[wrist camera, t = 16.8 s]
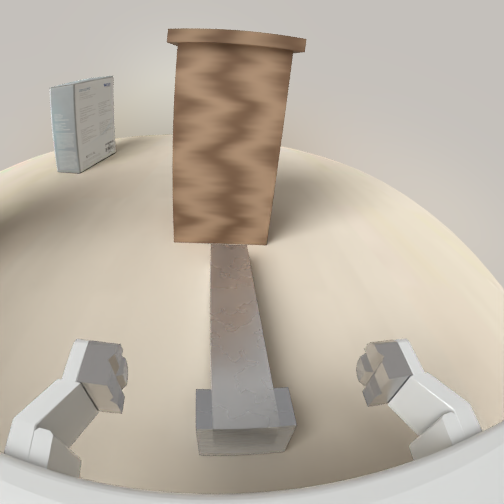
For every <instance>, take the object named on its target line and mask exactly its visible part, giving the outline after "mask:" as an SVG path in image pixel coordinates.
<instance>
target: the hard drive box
mask: <svg viewBox="0 0 504 504" xmlns="http://www.w3.org/2000/svg"><path fill="white" fill-rule="evenodd" d="M49 89H50V106H51V120H52V131H53V141H54V150H55V158H56V165H57V171H58V172H68V173H81V172H82V171H84V170H86V169H88V168H90V167H91V166H92V165H94V164H96V163H97V162H99V161H101V160H103V159H104V158H107V157H108V156H110V155H111V154H113V153H115V152H116V146H115V130H114V102H113V76H107V77H98V78H89V79H84V80H80V81H75V82H70V83H66V84H62V85H59V86H54V87H51V88H49Z"/></svg>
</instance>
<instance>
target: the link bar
mask: <svg viewBox="0 0 504 504" xmlns="http://www.w3.org/2000/svg"><path fill="white" fill-rule="evenodd" d="M210 360H211V390H209V389H196V434H197V442H198V450H199V455H245V454H262V453H275V452H284V451H285V449H286V447H287V445H288V443H289V440H290V438H291V436H292V434H293V432H294V430H295V428H296V426H297V424H296V420H295V415H294V411H293V406H292V402H291V398H290V393H289V389H288V387H284V388H273V384H272V378H271V373H270V368H269V362H268V357H267V352H266V346H265V341H264V336H263V330H262V325H261V320H260V314H259V309H258V303H257V298H256V293H255V287H254V282H253V276H252V271H251V266H250V260H249V255H248V249H247V245H224V244H211V262H210Z"/></svg>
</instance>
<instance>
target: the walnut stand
mask: <svg viewBox="0 0 504 504" xmlns="http://www.w3.org/2000/svg"><path fill="white" fill-rule="evenodd" d="M167 42H168V43H170V44H173V45H176V46H178V49H177V62H176V77H175V95H174V120H173V222H174V242H189V243H221V244H252V245H266V244H267V237H268V230H269V224H270V217H271V210H272V203H273V196H274V189H275V182H276V175H277V168H278V161H279V154H280V146H281V139H282V132H283V125H284V117H285V110H286V102H287V95H288V87H289V80H290V72H291V64H292V56H293V53H300V52H305V46H306V39H303V38H297V37H291V36H283V35H277V34H269V33H261V32H251V31H240V30H224V29H168V36H167Z"/></svg>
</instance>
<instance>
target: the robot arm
mask: <svg viewBox="0 0 504 504" xmlns="http://www.w3.org/2000/svg"><path fill="white" fill-rule="evenodd" d="M122 352H123V350H122V347H121V344H115V343H106V342H99V341H91V340H84V339H76V341H75V342H74V343H73V346H72V349H71V352H70V355H69V358H68V361H67V364H66V367H65V370H64V373H63V376H62V379H57V380H56V381H55V382H53V383H52V384H51V385H50V386H49V387H48V388H47V389H46V390H44V391H43V392H42V393H41V394H40V395H39V396H38V397H37V398H35V399H34V400H33V401H32V402H31V403H30V404H29V405H28V406H26V407H25V408H24V409H23V410H22V411H21V412H20V413H19V414H18V415H17V416H15V417H14V418H13V421H12V425H11V428H10V432H9V435H8V439H7V443H6V447H5V451H4V453H2V452H0V504H504V420H503V421H501V422H499V423H497V424H496V425H494V426H492V427H490V428H488V429H486V430H484V431H482V429H481V427H480V425H479V422H478V420H477V418H476V416H475V413H474V411H473V409H472V407H471V405H470V404H469V403H468V402H467V401H465V400H464V399H463V398H461V397H460V396H459V395H457V394H456V393H455V392H453V391H452V390H451V389H449V388H448V387H447V386H445V385H444V384H443V383H441V382H440V381H439V380H437V379H436V378H435V377H433V376H432V375H431V374H429V373H428V372H427V373H425V372H424V370H423V368H422V366H421V364H420V362H419V360H418V358H417V356H416V354H415V352H414V350H413V348H412V346H411V344H410V342H409V341H408V340H407V339H397V340H386V341H378V342H370V343H369V344H367V346H366V347H365V352H366V353H365V354H364V355H362V356H361V357H360V358H359V360H358V362H357V369H356V371H357V377H358V380H359V382H360V383H361V384H363V385H364V386H365V387H364V389H363V394H364V397H365V400H366V403H367V406H368V407H370V406H376V405H382V404H387V405H388V406H389V407H390V408H391V409H392V410H393V411H394V412H395V413H396V414H397V415H398V416H399V417H400V418H401V419H402V420H403V421H404V422H405V423H406V424H407V425H408V426H409V427H410V428H411V429H412V430H413V431H414V432H415V433H416V434H417V435H418V436H419V437H417V438H416V439H415V440H414V441H413V442H411V443H410V445H409V448H410V451H411V454H412V457H413V460H414V461H411V462H408V463H405V464H402V465H399V466H396V467H393V468H389V469H386V470H383V471H379V472H375V473H372V474H368V475H364V476H360V477H356V478H352V479H347V480H343V481H338V482H333V483H328V484H322V485H316V486H310V487H303V488H296V489H288V490H279V491H269V492H256V493H236V494H196V493H176V492H163V491H153V490H144V489H136V488H129V487H123V486H117V485H111V484H106V483H101V482H96V481H91V480H87V479H82V478H79V476H80V467H81V460H80V458H79V457H78V456H77V455H76V454H74V453H73V452H72V451H71V450H70V449H69V448H70V446H71V445H72V444H73V443H74V442H75V440H76V439H77V438H78V437H79V435H80V434H81V433H82V432H83V431H84V429H85V428H86V427H87V426H88V425H89V423H90V422H91V421H92V420H93V419H94V417H95V416H96V415H97V414H98V411H102V412H110V413H119V414H122V410H123V404H124V398H125V396H124V394H123V392H122V389H123V388H124V387H125V386H127V380H128V366H127V362H126V359H125V358H124V357H123V356H122Z"/></svg>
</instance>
